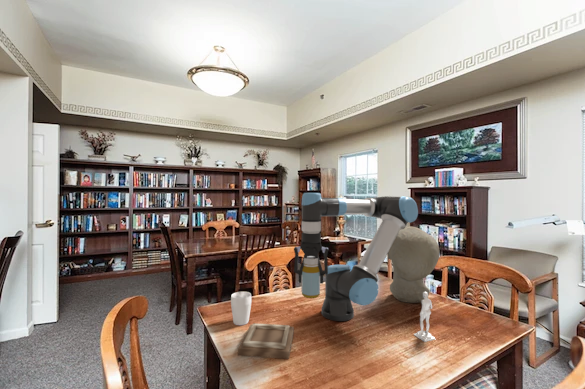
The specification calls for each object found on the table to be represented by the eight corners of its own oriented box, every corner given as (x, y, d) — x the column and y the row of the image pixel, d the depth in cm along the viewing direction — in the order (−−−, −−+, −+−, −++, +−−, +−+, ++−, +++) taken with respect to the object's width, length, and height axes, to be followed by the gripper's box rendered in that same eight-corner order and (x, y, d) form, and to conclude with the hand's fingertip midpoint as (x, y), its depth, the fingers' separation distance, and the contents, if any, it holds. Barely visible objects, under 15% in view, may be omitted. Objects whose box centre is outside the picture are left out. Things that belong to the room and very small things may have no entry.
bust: (441, 299, 151) (442, 226, 151) (436, 319, 127) (437, 232, 127) (393, 290, 164) (394, 223, 164) (380, 307, 140) (381, 228, 140)
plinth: (293, 332, 113) (293, 323, 113) (288, 358, 95) (289, 348, 95) (250, 330, 115) (250, 321, 115) (237, 355, 97) (237, 344, 97)
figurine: (429, 331, 115) (429, 288, 116) (441, 339, 109) (441, 293, 109) (411, 333, 114) (411, 289, 114) (422, 342, 107) (422, 295, 107)
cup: (247, 327, 117) (247, 299, 117) (227, 325, 119) (227, 297, 119) (254, 318, 126) (254, 292, 126) (235, 316, 128) (235, 290, 128)
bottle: (300, 292, 112) (301, 255, 112) (318, 292, 112) (318, 255, 112) (303, 299, 105) (303, 259, 105) (321, 298, 106) (321, 259, 106)
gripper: (334, 231, 112) (334, 288, 112) (288, 230, 113) (288, 287, 113) (336, 233, 104) (335, 295, 104) (286, 232, 106) (285, 293, 106)
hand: (310, 291), depth 109 cm, fingers closed on bottle, 6 cm apart
